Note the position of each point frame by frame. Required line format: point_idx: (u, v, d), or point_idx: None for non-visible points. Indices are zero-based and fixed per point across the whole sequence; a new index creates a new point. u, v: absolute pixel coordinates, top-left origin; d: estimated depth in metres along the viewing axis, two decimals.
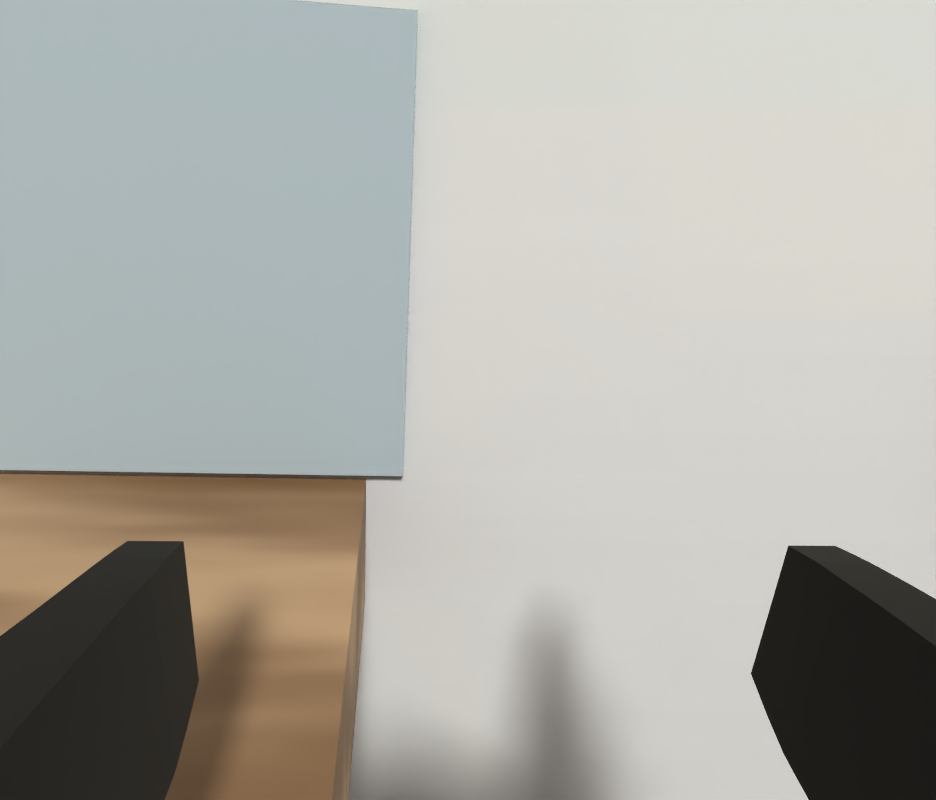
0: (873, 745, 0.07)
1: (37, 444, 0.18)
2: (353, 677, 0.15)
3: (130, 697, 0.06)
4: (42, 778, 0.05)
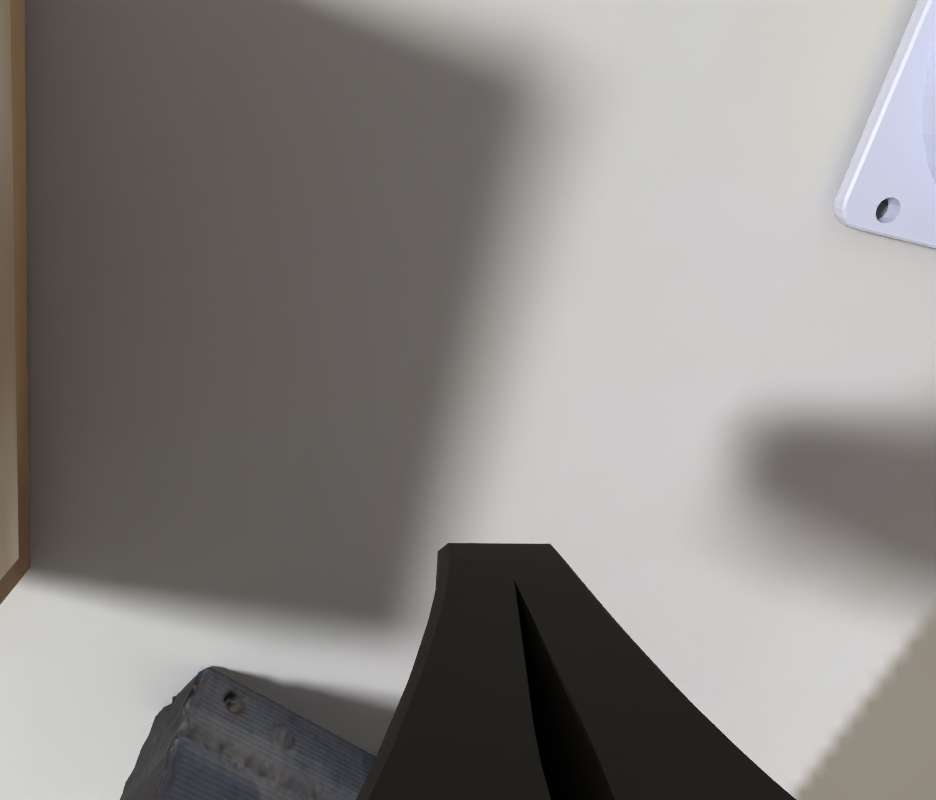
0: None
1: None
2: None
3: None
4: None
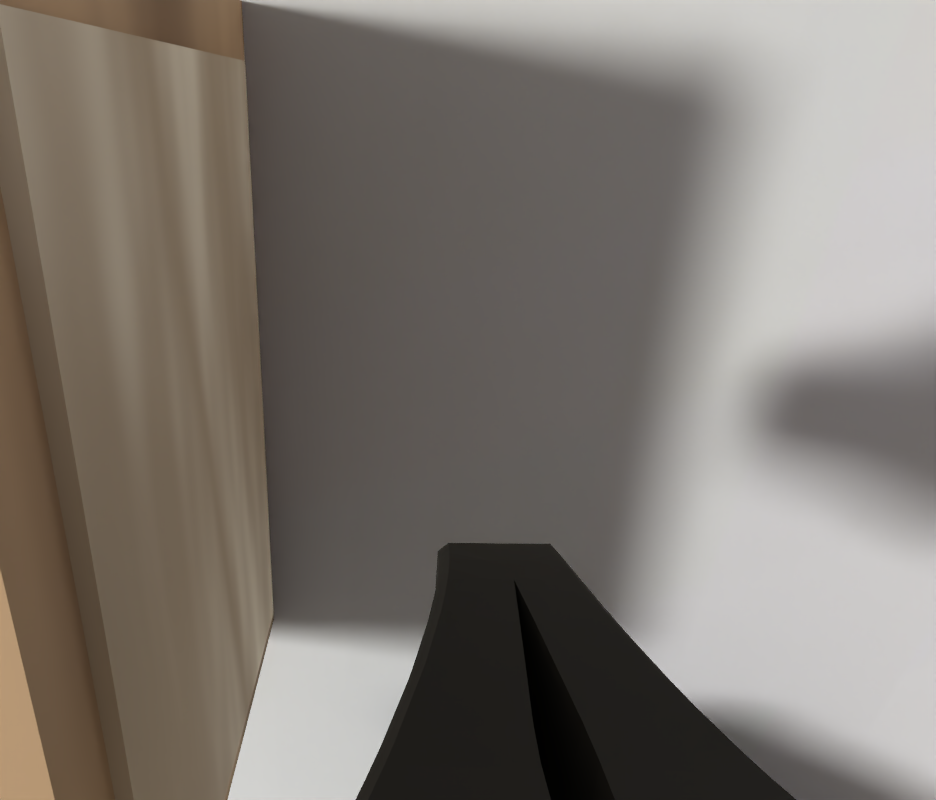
0: None
1: None
2: None
3: None
4: None
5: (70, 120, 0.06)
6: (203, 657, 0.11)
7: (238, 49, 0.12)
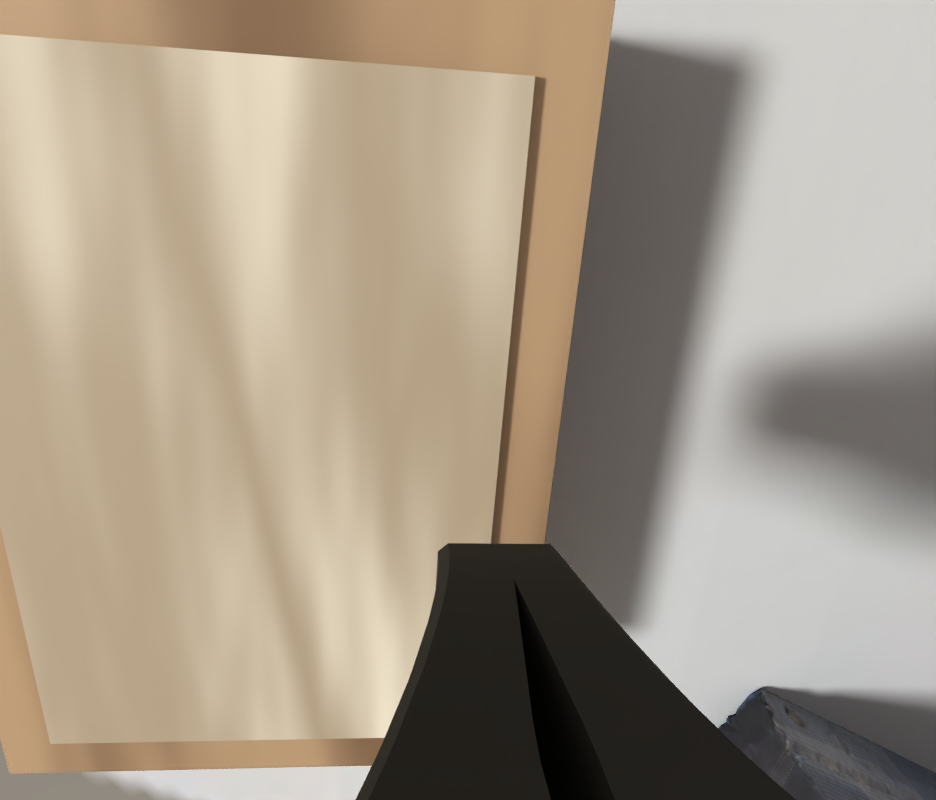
0: None
1: None
2: None
3: None
4: None
5: None
6: (185, 590, 0.12)
7: (567, 63, 0.09)
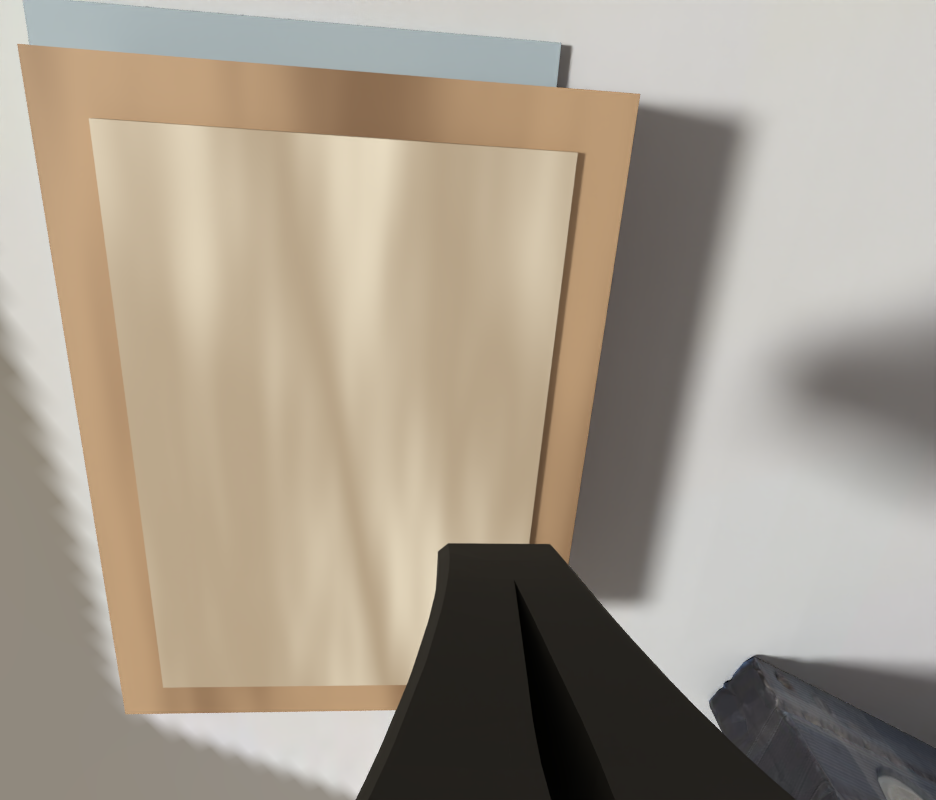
0: None
1: None
2: None
3: None
4: None
5: (150, 172, 0.12)
6: (283, 558, 0.15)
7: (602, 142, 0.12)
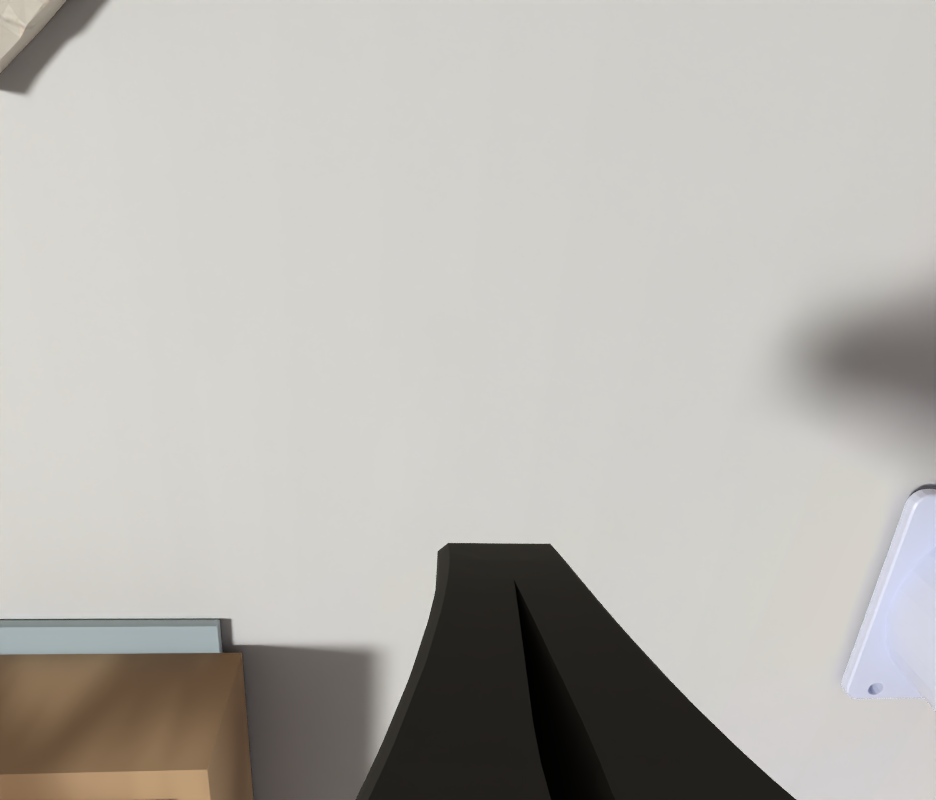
0: None
1: None
2: (31, 716, 0.18)
3: None
4: None
5: None
6: None
7: (187, 792, 0.18)
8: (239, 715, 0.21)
